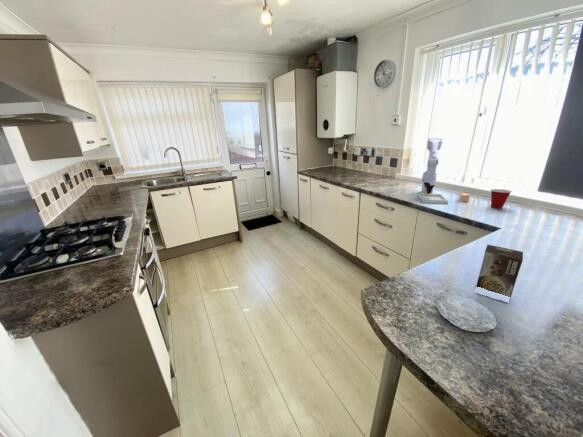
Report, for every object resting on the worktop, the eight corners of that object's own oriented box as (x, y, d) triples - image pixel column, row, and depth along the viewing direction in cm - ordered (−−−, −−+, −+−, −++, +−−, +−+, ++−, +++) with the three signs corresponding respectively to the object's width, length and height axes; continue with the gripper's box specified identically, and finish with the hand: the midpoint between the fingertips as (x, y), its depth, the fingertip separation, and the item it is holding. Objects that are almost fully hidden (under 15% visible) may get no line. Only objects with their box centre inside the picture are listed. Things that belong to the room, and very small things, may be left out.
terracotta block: (458, 199, 181) (460, 193, 179) (465, 200, 180) (467, 193, 178) (461, 201, 177) (462, 195, 175) (468, 201, 176) (469, 195, 174)
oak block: (423, 193, 188) (425, 187, 186) (430, 194, 187) (431, 187, 185) (425, 195, 184) (426, 188, 182) (431, 195, 183) (433, 189, 181)
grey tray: (417, 196, 193) (418, 193, 192) (440, 197, 189) (441, 194, 188) (422, 202, 177) (423, 199, 176) (447, 203, 173) (448, 200, 172)
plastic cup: (499, 204, 167) (504, 187, 163) (510, 209, 157) (516, 191, 153) (482, 204, 168) (486, 187, 164) (492, 209, 158) (497, 192, 154)
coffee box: (509, 294, 81) (524, 251, 75) (508, 304, 77) (524, 260, 71) (476, 284, 87) (487, 243, 81) (473, 292, 82) (485, 250, 77)
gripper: (439, 176, 173) (436, 195, 177) (434, 173, 186) (431, 190, 190) (428, 176, 174) (425, 194, 179) (423, 173, 187) (421, 190, 192)
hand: (427, 192), depth 185 cm, fingers closed on oak block, 4 cm apart
